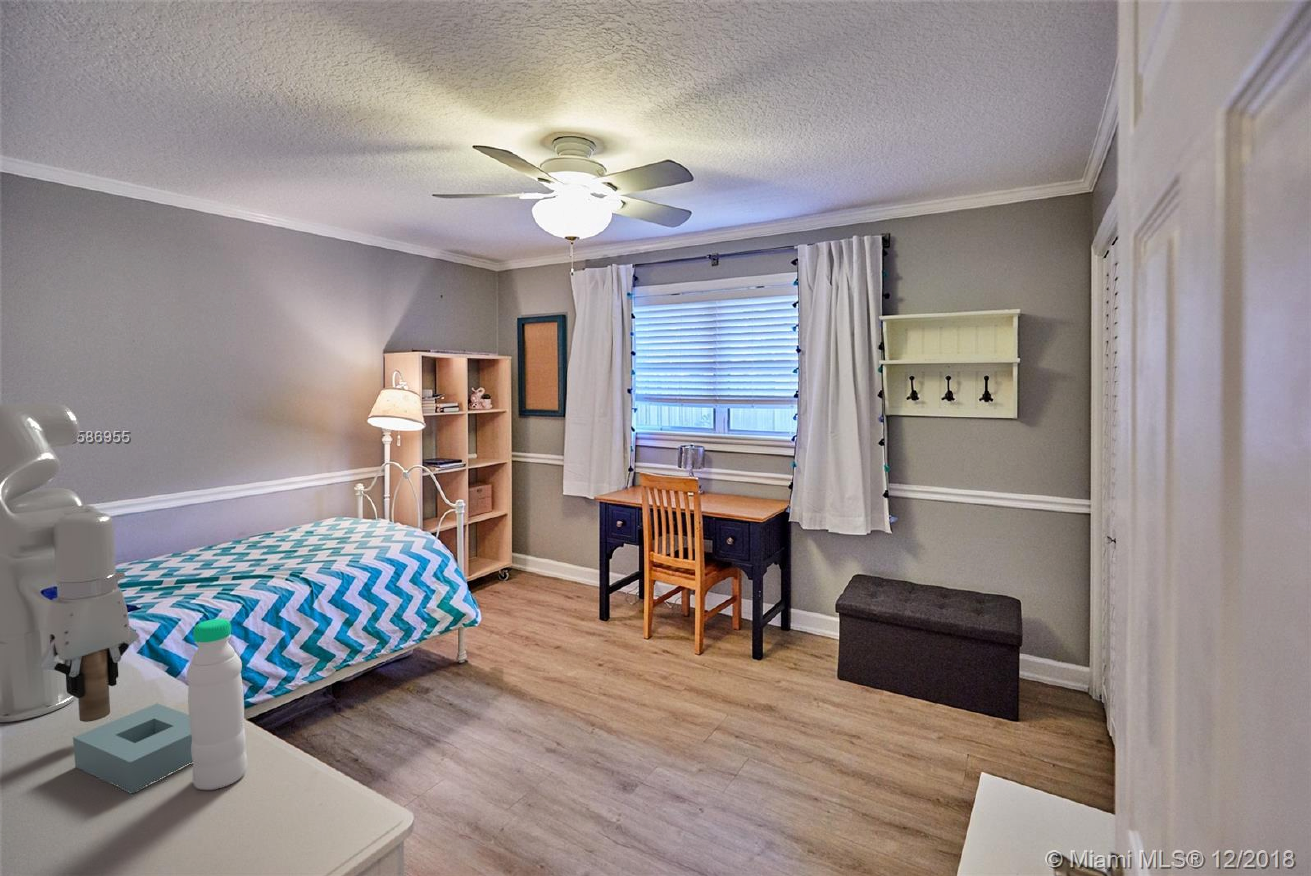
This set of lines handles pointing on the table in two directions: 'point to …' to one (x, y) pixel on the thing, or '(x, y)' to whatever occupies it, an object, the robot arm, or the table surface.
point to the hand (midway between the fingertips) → (93, 688)
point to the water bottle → (216, 708)
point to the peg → (94, 687)
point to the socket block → (136, 747)
